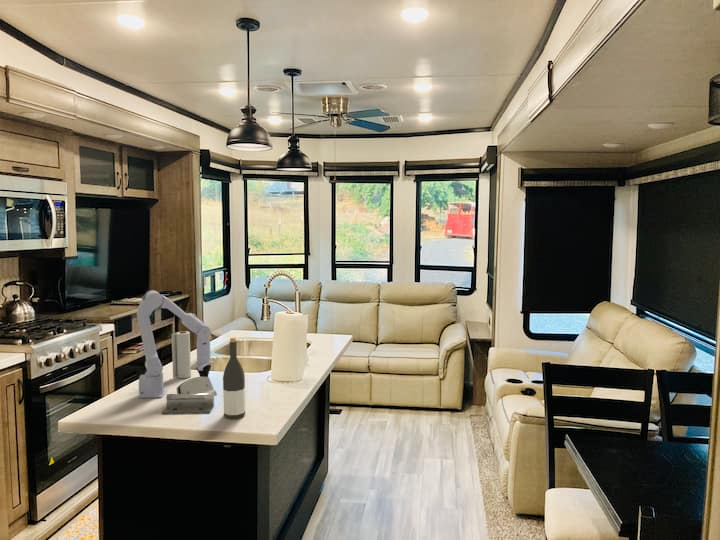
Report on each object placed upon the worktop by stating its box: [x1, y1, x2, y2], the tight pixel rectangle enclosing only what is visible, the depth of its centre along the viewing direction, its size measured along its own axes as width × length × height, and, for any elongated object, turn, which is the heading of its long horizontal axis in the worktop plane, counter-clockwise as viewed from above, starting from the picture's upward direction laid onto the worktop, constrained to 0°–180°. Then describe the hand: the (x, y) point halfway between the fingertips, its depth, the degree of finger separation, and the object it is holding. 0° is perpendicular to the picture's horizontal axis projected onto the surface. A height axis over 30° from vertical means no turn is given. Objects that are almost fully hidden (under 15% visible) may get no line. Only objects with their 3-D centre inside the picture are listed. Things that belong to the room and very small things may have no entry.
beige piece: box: [176, 376, 218, 397], centre depth 227 cm, size 17×5×10 cm, turn 150°
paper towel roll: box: [171, 330, 192, 379], centre depth 257 cm, size 7×6×21 cm
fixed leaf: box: [161, 393, 215, 415], centre depth 214 cm, size 18×8×5 cm, turn 93°
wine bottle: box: [222, 336, 246, 420], centre depth 207 cm, size 8×8×30 cm
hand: (204, 382), depth 241 cm, fingers closed
